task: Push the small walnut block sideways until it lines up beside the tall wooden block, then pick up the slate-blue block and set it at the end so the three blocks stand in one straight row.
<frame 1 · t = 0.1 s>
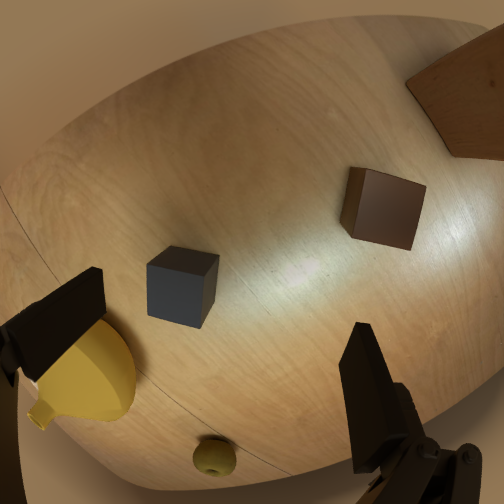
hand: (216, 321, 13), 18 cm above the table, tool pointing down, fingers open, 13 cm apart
wooden block: (453, 102, 22), on the table
apple: (219, 442, 43), on the table
walnut block: (371, 201, 27), on the table
vase: (103, 342, 39), on the table
slate block: (192, 274, 32), on the table
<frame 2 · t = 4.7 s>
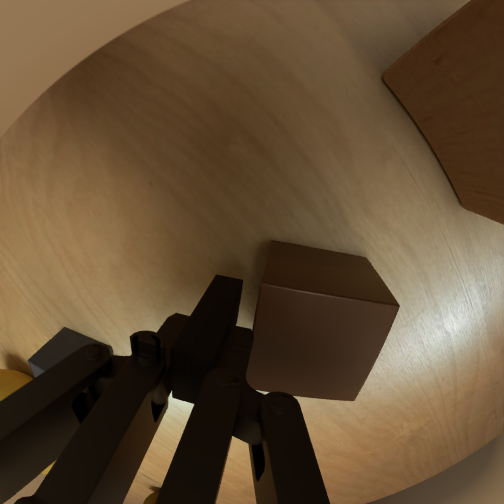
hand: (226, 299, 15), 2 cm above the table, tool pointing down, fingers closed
wooden block: (468, 109, 12), on the table
apple: (170, 493, 34), on the table
walnut block: (309, 293, 17), on the table, touching gripper
vase: (43, 397, 29), on the table
slate block: (92, 359, 22), on the table
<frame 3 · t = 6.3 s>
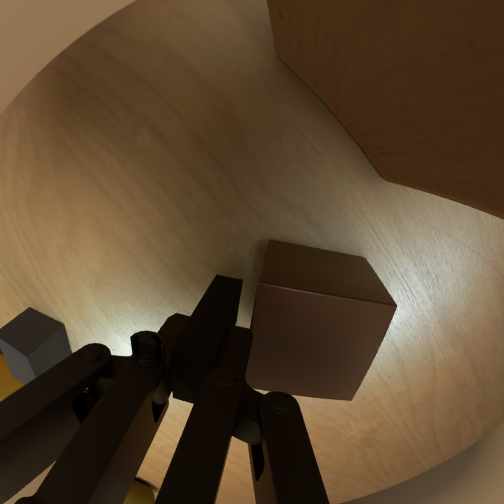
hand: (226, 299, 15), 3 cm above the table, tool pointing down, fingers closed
wooden block: (390, 72, 12), on the table
apple: (140, 481, 35), on the table
walnut block: (308, 293, 17), on the table, touching gripper
vase: (21, 380, 30), on the table
slate block: (51, 337, 23), on the table
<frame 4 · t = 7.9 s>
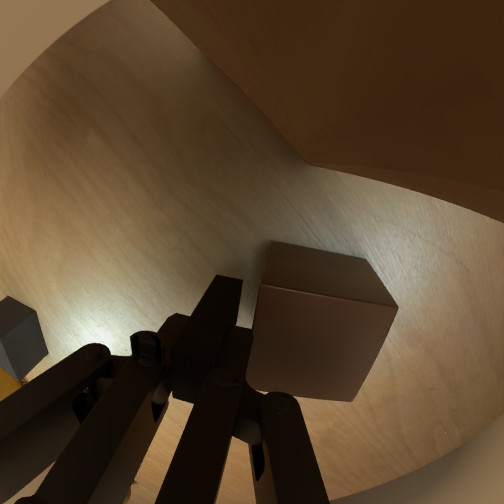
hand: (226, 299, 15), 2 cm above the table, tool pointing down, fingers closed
wooden block: (319, 55, 13), on the table
walnut block: (309, 294, 17), on the table, touching gripper
vase: (6, 368, 30), on the table
slate block: (27, 324, 23), on the table
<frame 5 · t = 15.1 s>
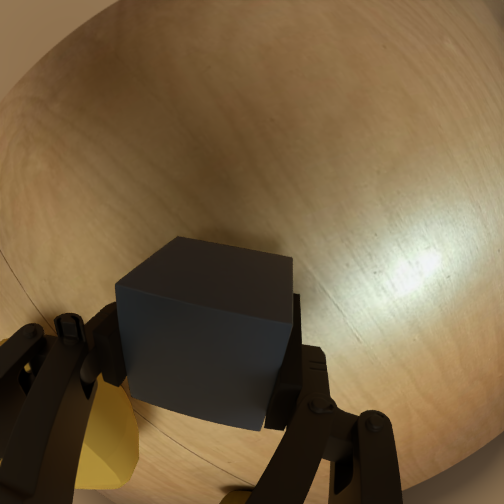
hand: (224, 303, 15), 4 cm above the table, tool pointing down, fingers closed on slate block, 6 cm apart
apple: (248, 491, 29), on the table
vase: (89, 377, 25), on the table
slate block: (226, 298, 15), point 3 cm above the table, touching gripper
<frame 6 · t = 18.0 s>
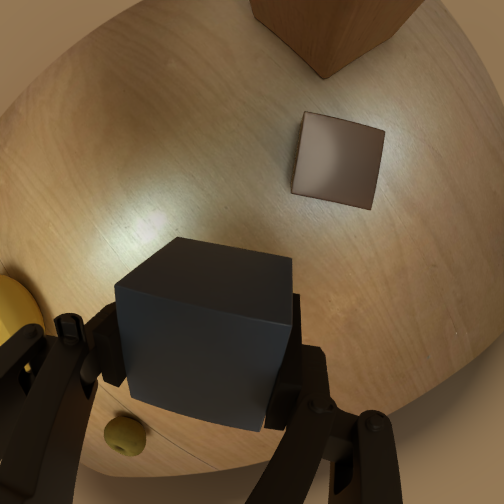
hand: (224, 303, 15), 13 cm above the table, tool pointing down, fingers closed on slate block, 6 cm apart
wooden block: (324, 22, 19), on the table
apple: (133, 421, 41), on the table
walnut block: (328, 160, 23), on the table
vase: (27, 308, 36), on the table
slate block: (226, 298, 15), point 12 cm above the table, touching gripper
when the fingers open (0 cm above the table, at t = 21.3 s): slate block stays where it is, on the table.
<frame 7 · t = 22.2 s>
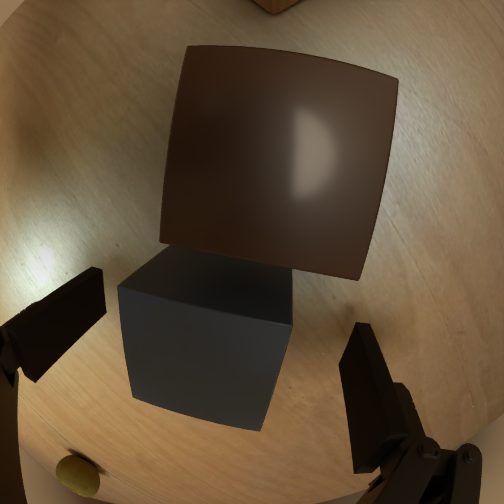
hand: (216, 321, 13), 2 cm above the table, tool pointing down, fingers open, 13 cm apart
apple: (87, 460, 30), on the table
walnut block: (281, 158, 12), on the table
slate block: (226, 299, 15), on the table
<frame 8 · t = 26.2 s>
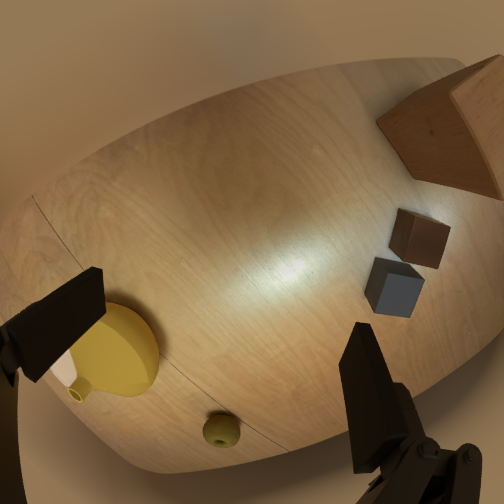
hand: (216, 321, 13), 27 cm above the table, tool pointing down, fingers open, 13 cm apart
plate: (66, 360, 56), on the table
wooden block: (417, 133, 31), on the table
apple: (225, 417, 53), on the table
walnut block: (410, 232, 36), on the table
vase: (129, 330, 49), on the table
slate block: (387, 278, 39), on the table
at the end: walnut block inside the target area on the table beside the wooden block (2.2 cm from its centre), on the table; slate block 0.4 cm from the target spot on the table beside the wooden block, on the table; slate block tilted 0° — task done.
